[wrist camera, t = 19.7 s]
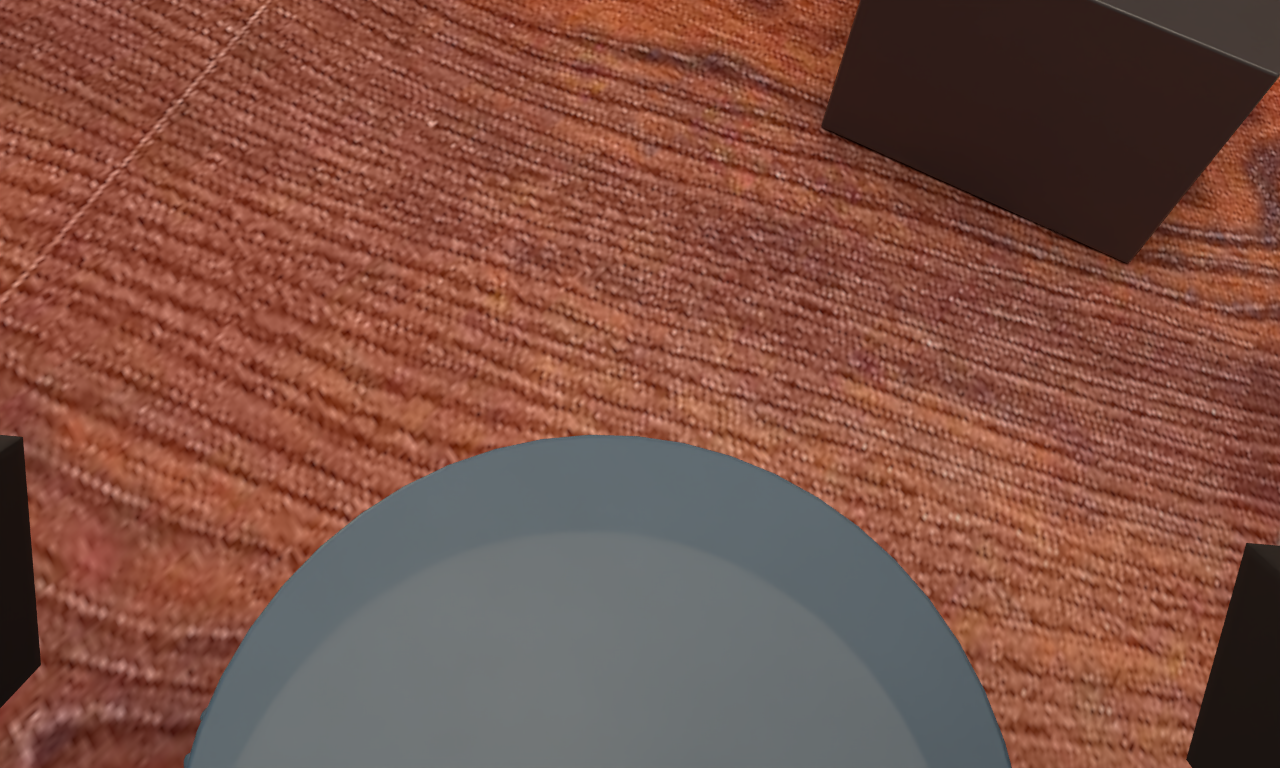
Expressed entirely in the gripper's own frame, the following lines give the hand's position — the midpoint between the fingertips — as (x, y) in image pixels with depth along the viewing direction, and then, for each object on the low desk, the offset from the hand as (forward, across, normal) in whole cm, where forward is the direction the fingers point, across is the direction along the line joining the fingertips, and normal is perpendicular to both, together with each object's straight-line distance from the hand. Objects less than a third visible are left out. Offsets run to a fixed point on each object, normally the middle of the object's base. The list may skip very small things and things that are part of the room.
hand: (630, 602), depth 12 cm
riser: (+27, +12, +5) cm, 30 cm away
